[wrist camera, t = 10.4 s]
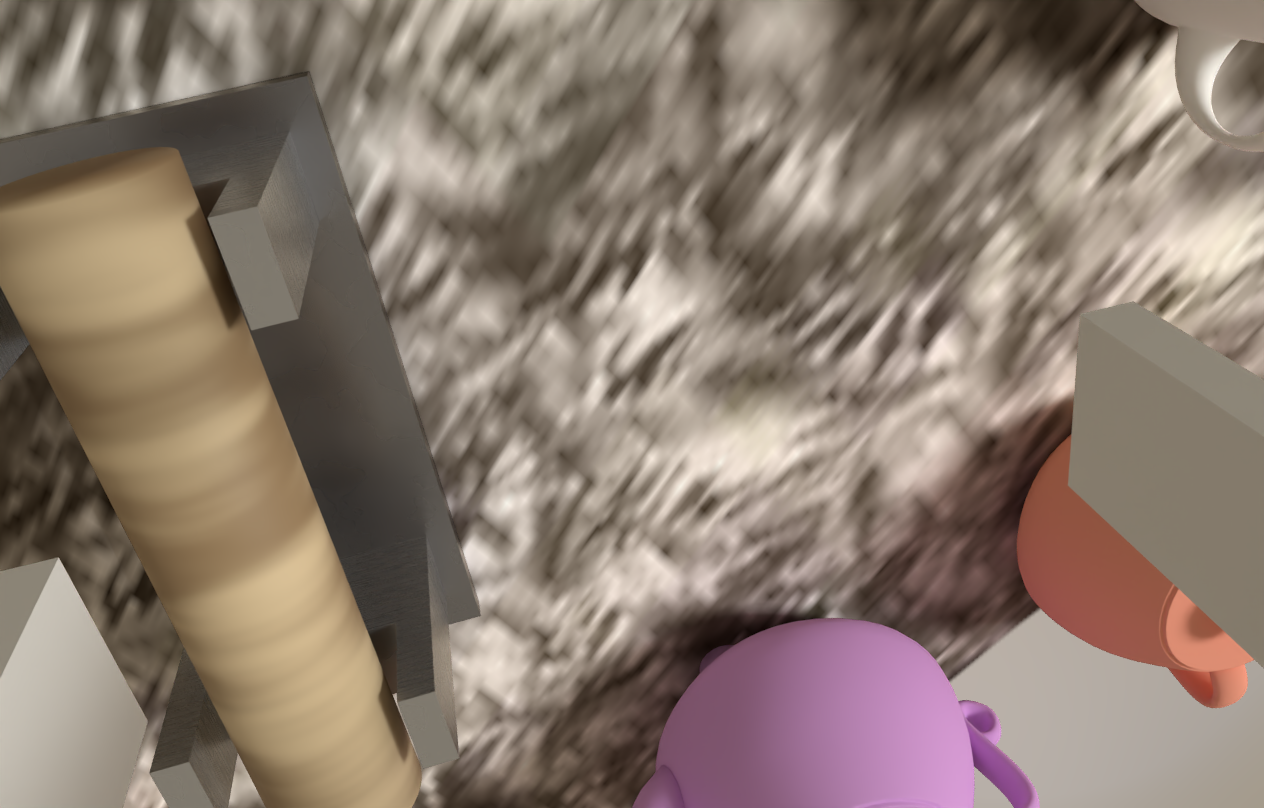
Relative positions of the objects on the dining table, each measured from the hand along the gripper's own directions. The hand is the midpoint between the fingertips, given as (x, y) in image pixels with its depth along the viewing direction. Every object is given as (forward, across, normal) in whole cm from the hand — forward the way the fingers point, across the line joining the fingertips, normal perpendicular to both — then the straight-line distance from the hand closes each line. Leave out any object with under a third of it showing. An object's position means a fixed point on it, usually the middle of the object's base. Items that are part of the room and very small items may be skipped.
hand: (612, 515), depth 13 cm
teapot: (+24, +7, -30) cm, 39 cm away
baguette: (+18, -11, -9) cm, 23 cm away
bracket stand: (+24, -10, -9) cm, 28 cm away
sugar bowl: (+24, +25, -24) cm, 42 cm away
